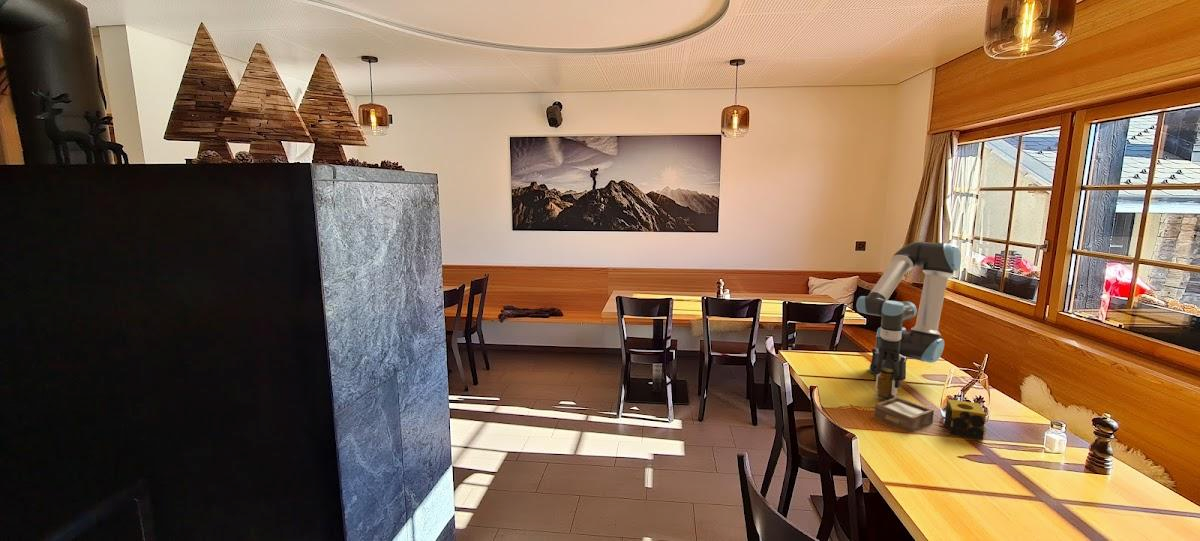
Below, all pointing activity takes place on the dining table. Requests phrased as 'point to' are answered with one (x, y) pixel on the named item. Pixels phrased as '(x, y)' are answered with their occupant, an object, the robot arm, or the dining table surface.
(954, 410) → the yellow black cube
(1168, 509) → the dining table surface
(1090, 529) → the dining table surface
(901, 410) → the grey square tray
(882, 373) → the condiment
